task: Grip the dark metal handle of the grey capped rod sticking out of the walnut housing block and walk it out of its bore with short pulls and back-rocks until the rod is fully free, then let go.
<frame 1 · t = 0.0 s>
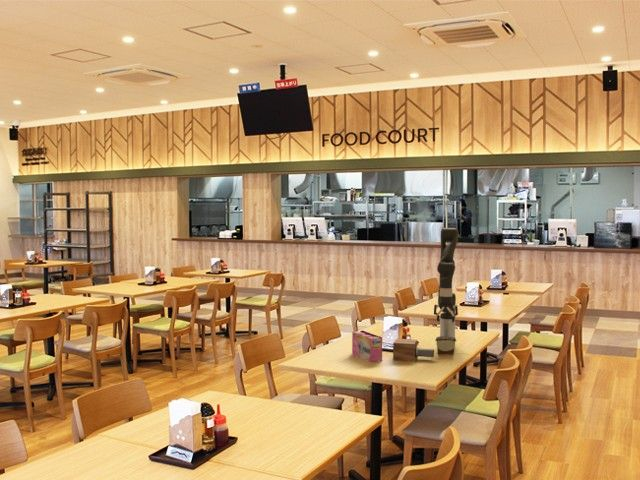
hand: (445, 322, 401), 17 cm above the table, tool pointing down, fingers open, 8 cm apart
grey capped rod: (417, 352, 379), point 4 cm above the table, slide at 0.0 cm
food container: (445, 354, 393), on the table
housing: (405, 358, 381), on the table
gum box: (366, 357, 385), on the table
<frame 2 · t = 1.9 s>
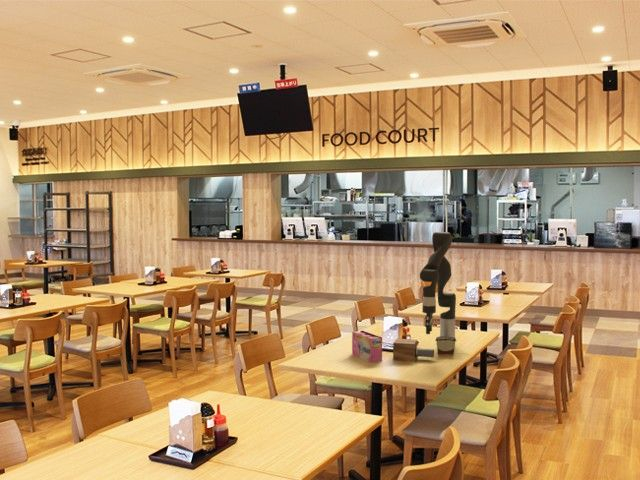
hand: (428, 332, 376), 16 cm above the table, tool pointing down, fingers open, 8 cm apart
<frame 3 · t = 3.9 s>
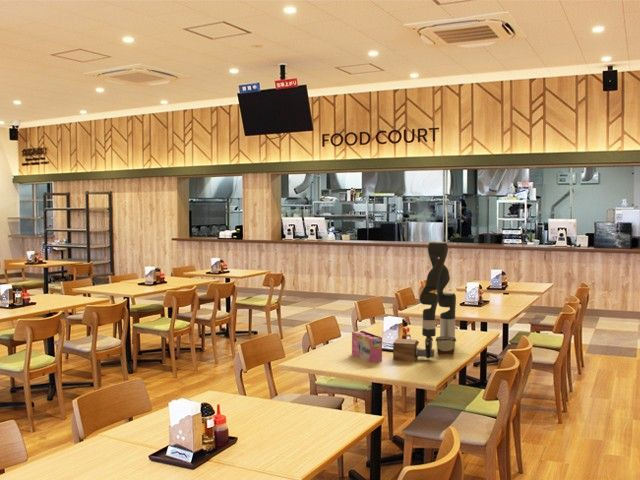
hand: (428, 357, 377), 2 cm above the table, tool pointing down, fingers closed on grey capped rod, 3 cm apart
grey capped rod: (417, 352, 379), point 4 cm above the table, slide at 0.0 cm, touching gripper
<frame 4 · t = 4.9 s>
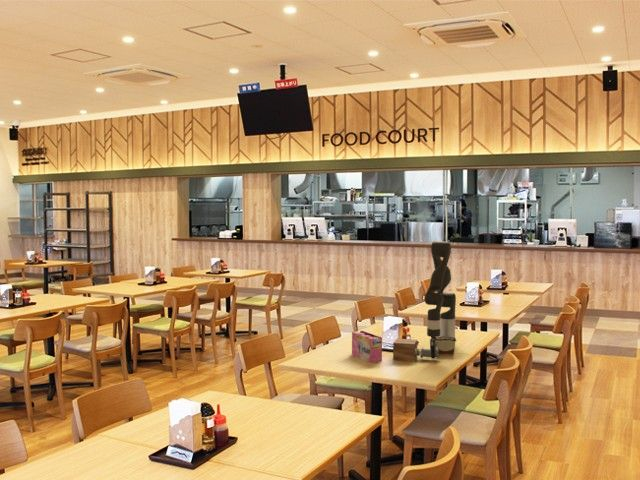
hand: (433, 357, 377), 2 cm above the table, tool pointing down, fingers closed on grey capped rod, 3 cm apart
grey capped rod: (422, 352, 378), point 4 cm above the table, slide at 2.7 cm, touching gripper
everything else where it was.
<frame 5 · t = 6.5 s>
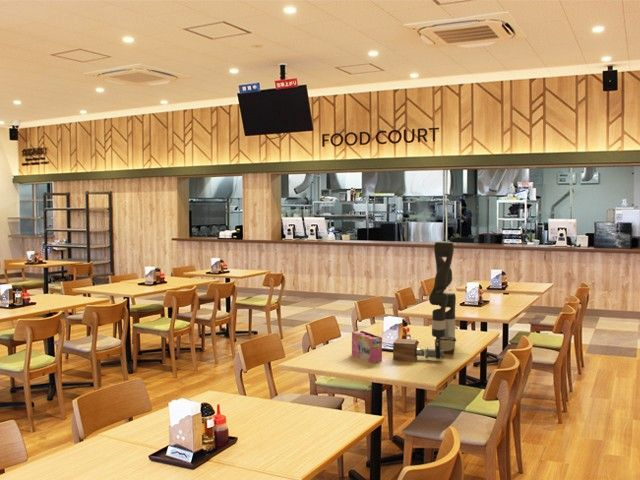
hand: (438, 357, 376), 2 cm above the table, tool pointing down, fingers closed on grey capped rod, 3 cm apart
grey capped rod: (426, 352, 378), point 4 cm above the table, slide at 5.5 cm, touching gripper
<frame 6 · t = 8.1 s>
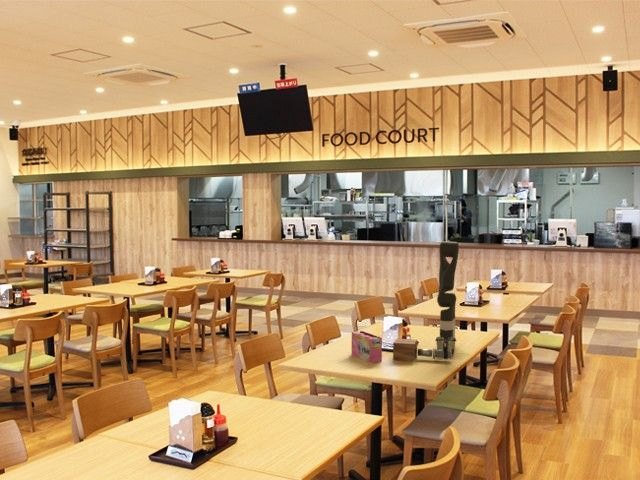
hand: (446, 358, 375), 2 cm above the table, tool pointing down, fingers closed on grey capped rod, 3 cm apart
grey capped rod: (434, 353, 376), point 4 cm above the table, slide at 9.8 cm, touching gripper
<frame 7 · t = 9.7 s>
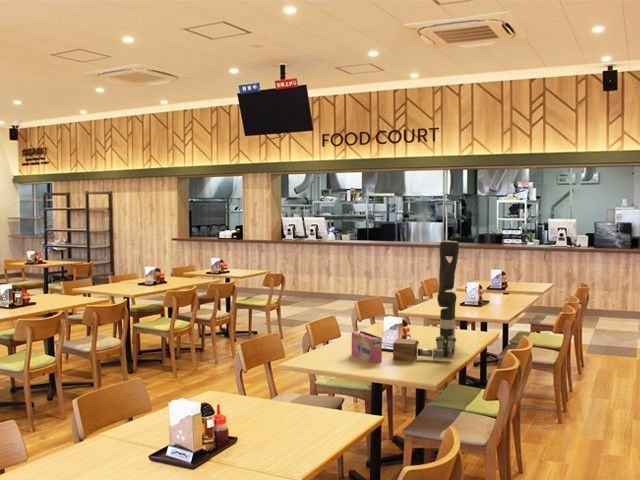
hand: (446, 355, 375), 3 cm above the table, tool pointing down, fingers open, 8 cm apart
grey capped rod: (434, 353, 376), point 4 cm above the table, slide at 9.8 cm
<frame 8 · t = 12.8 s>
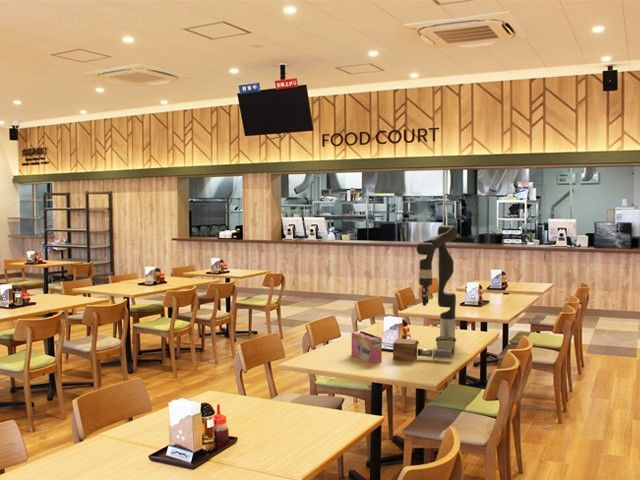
hand: (425, 304, 387), 30 cm above the table, tool pointing down, fingers open, 8 cm apart
at the end: grey capped rod slide at 9.8 cm; the gripper is holding nothing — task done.
